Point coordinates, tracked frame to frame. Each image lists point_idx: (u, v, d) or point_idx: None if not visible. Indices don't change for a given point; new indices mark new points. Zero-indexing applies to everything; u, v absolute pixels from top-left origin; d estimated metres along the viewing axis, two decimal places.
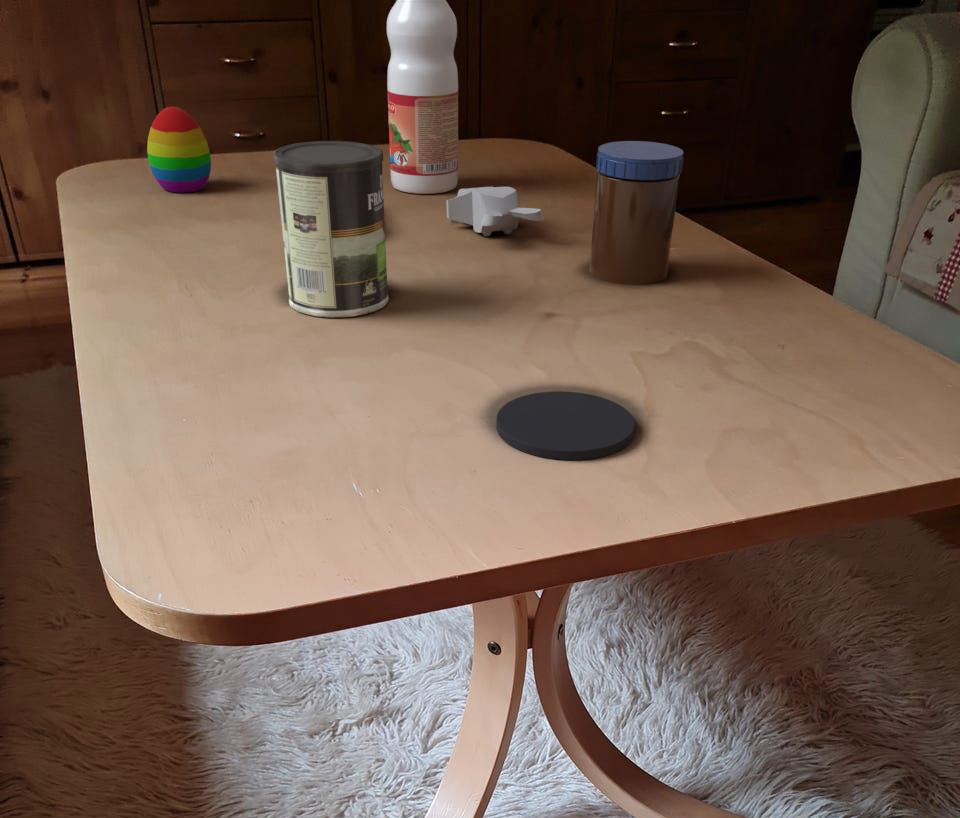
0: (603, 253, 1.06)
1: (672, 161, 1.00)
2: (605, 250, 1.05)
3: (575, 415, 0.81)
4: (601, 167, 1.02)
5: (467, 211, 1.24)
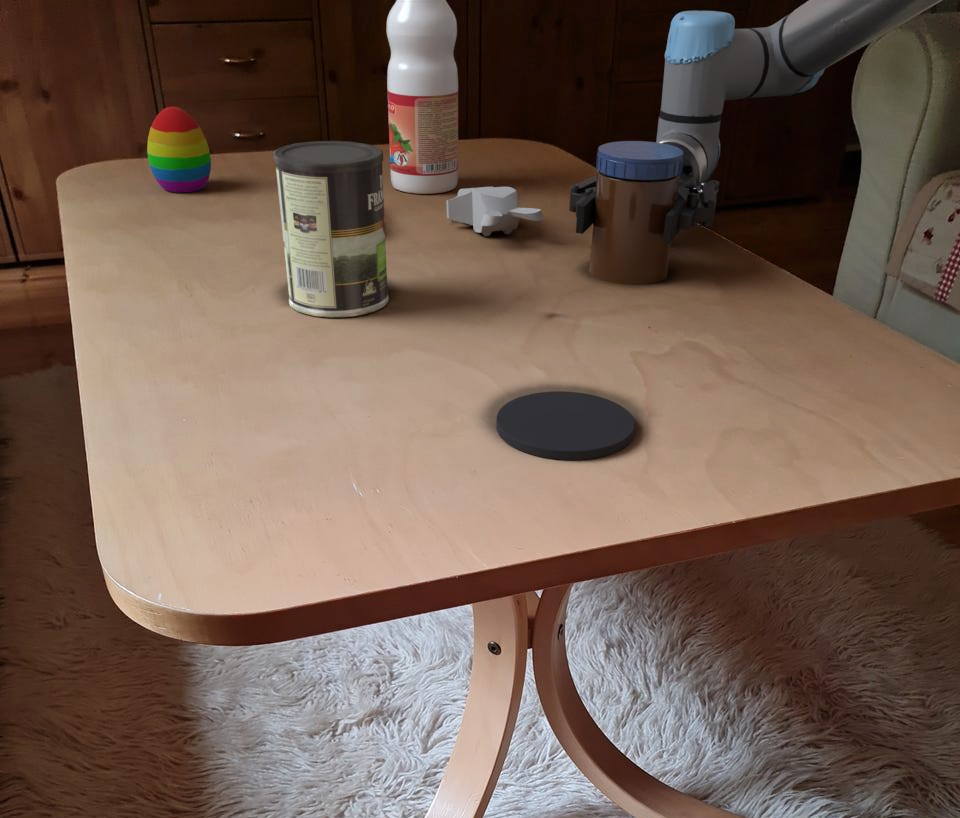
0: (603, 253, 1.06)
1: (672, 161, 1.00)
2: (605, 250, 1.05)
3: (575, 415, 0.81)
4: (601, 167, 1.02)
5: (467, 211, 1.24)
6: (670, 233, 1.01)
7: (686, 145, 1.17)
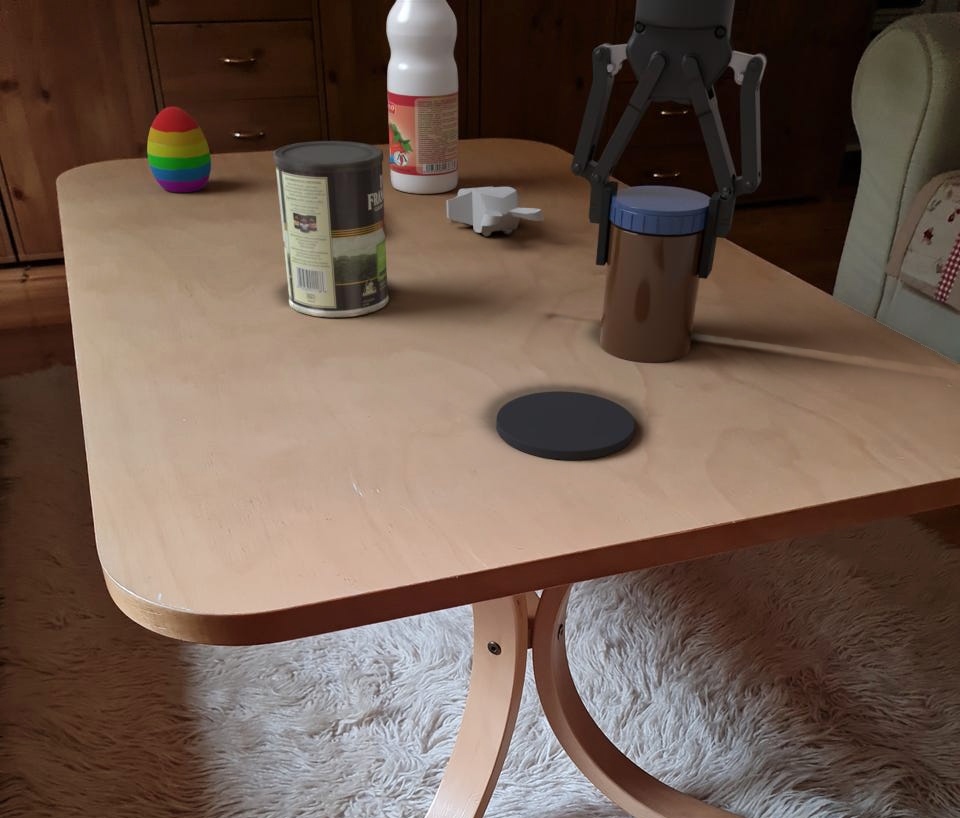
0: (617, 317, 0.91)
1: (699, 212, 0.85)
2: (619, 314, 0.90)
3: (575, 415, 0.81)
4: (615, 218, 0.87)
5: (467, 211, 1.24)
6: (708, 272, 0.90)
7: None
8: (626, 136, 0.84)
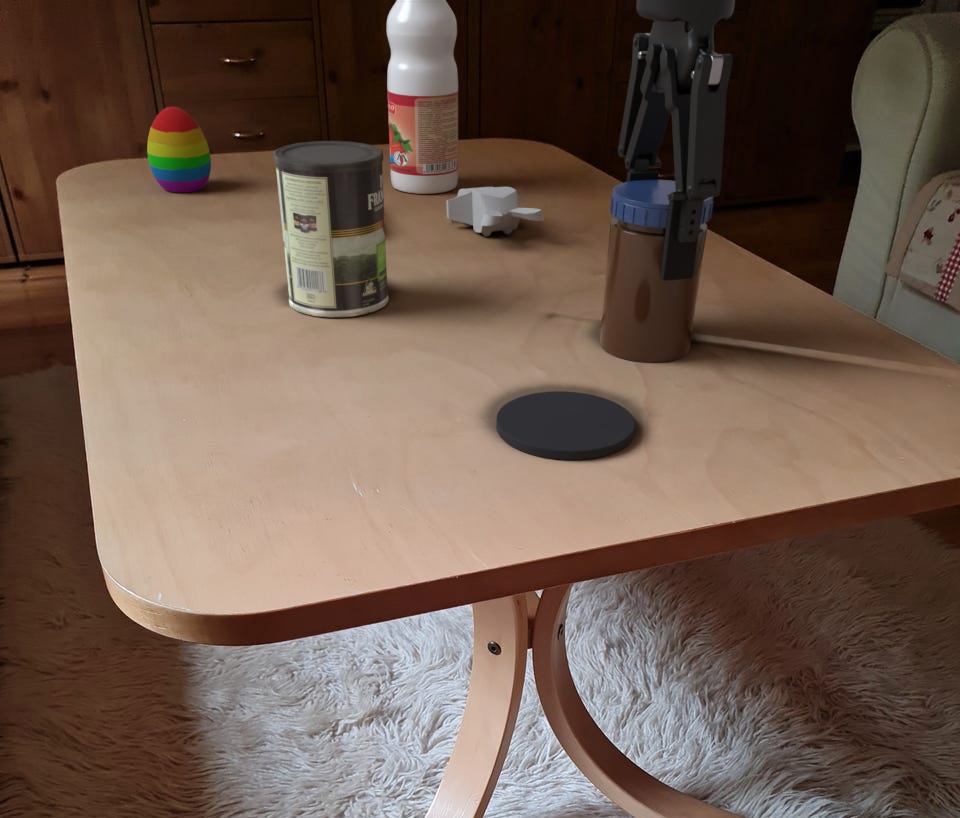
0: (617, 317, 0.91)
1: (708, 203, 0.85)
2: (619, 314, 0.90)
3: (575, 415, 0.81)
4: (625, 216, 0.85)
5: (467, 211, 1.24)
6: None
7: None
8: None
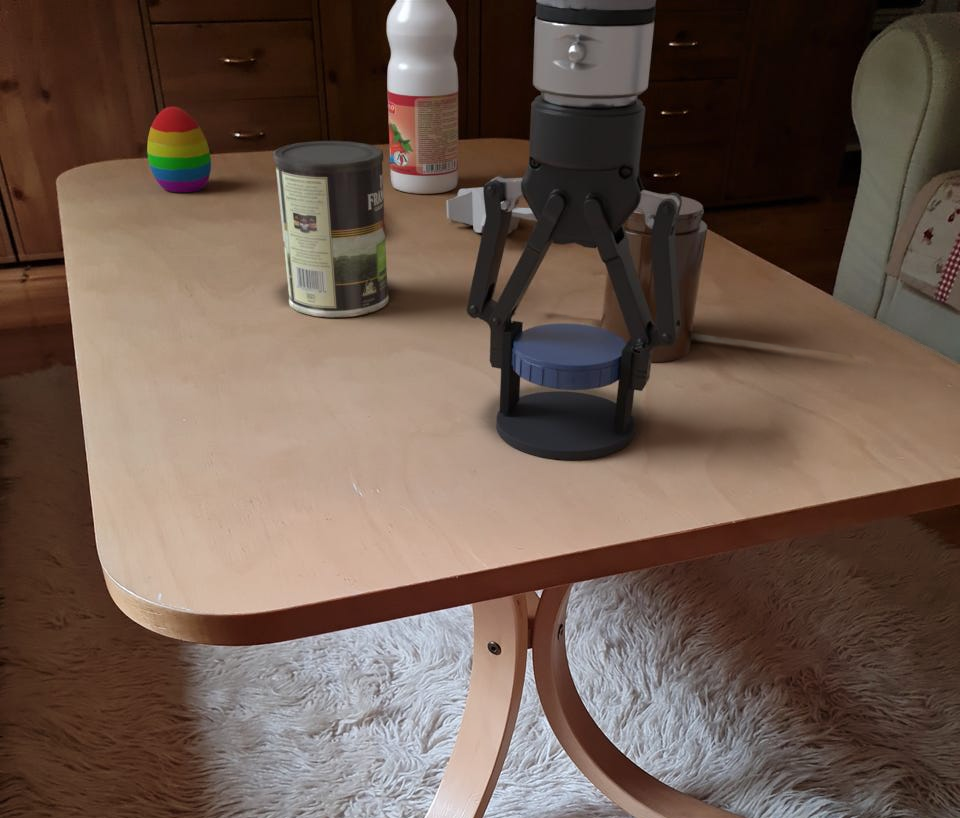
0: (617, 317, 0.91)
1: None
2: (619, 314, 0.90)
3: (575, 415, 0.81)
4: (575, 383, 0.74)
5: (467, 211, 1.24)
6: None
7: None
8: None
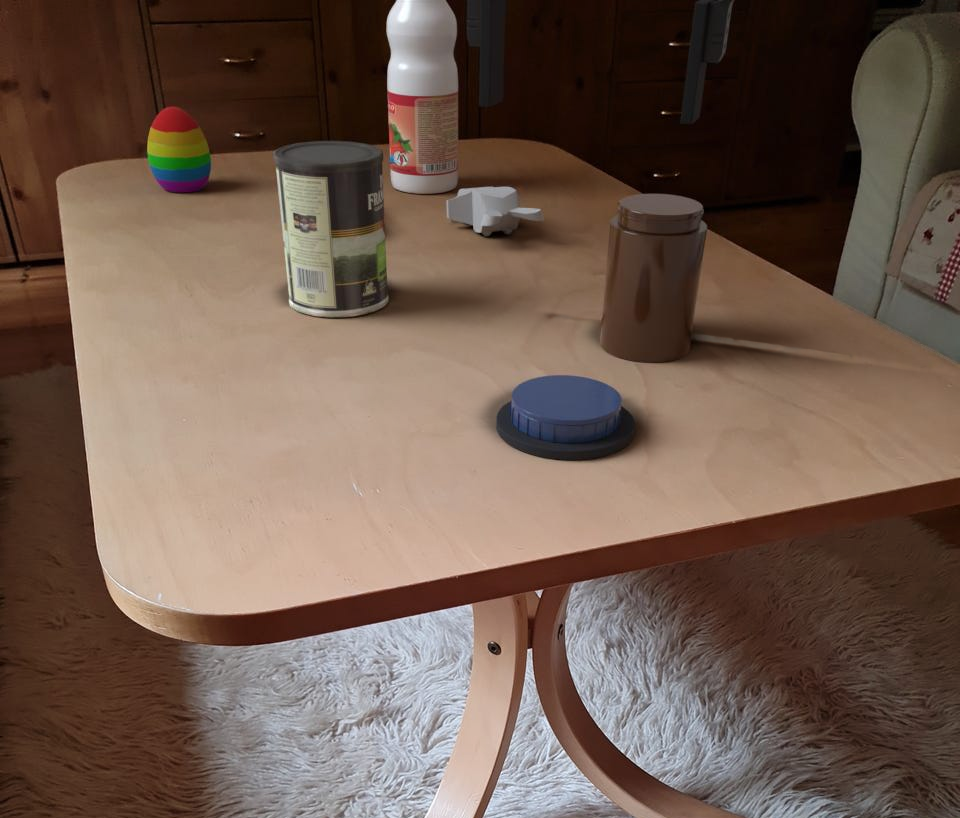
0: (617, 317, 0.91)
1: None
2: (619, 314, 0.90)
3: None
4: (571, 437, 0.76)
5: (467, 211, 1.24)
6: None
7: None
8: None
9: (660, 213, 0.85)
